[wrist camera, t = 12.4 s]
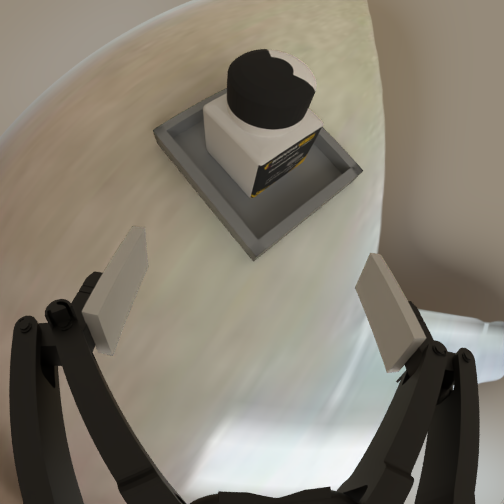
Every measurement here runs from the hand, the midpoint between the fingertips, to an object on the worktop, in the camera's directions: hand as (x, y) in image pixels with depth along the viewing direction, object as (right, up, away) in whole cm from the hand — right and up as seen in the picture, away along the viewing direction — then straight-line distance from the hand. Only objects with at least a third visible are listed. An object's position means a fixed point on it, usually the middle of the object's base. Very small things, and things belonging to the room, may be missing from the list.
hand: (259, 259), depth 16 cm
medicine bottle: (0, +10, +11) cm, 15 cm away
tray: (0, +10, +12) cm, 15 cm away
